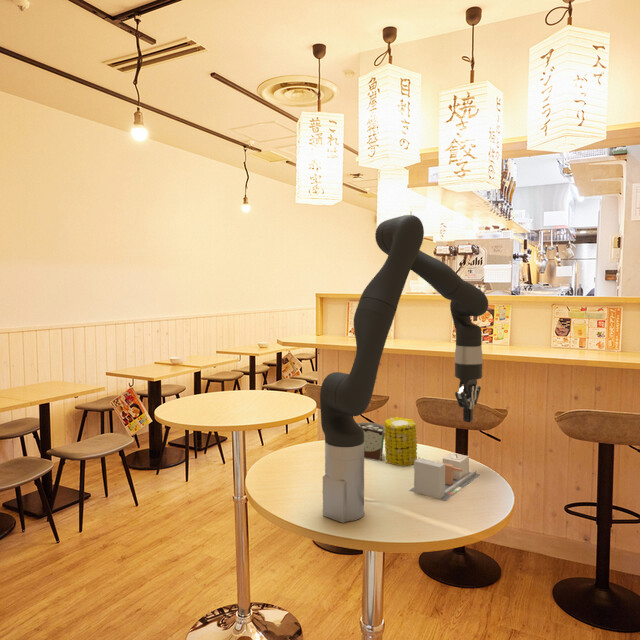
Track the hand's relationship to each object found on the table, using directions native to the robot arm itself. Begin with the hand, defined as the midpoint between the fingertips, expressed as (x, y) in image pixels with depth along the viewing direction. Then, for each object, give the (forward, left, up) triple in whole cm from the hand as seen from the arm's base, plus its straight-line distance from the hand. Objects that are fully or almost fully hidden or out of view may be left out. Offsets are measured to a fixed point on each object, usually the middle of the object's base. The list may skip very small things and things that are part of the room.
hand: (468, 421), depth 141 cm
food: (-7, +18, -15) cm, 25 cm away
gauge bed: (-14, 0, -15) cm, 21 cm away
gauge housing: (-10, 0, -13) cm, 16 cm away
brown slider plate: (-15, -1, -13) cm, 20 cm away
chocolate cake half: (-5, +30, -15) cm, 34 cm away
